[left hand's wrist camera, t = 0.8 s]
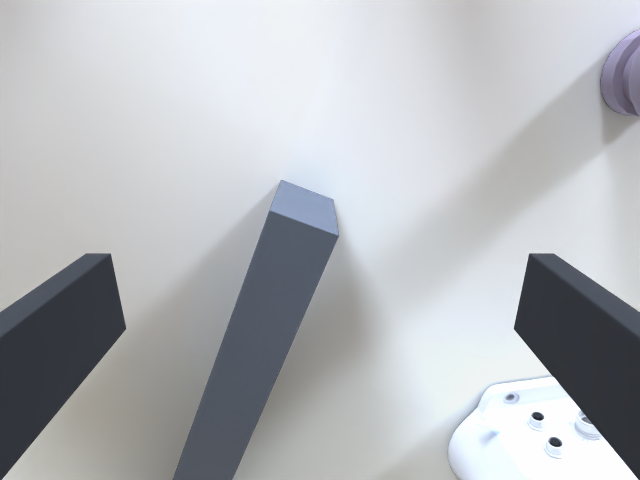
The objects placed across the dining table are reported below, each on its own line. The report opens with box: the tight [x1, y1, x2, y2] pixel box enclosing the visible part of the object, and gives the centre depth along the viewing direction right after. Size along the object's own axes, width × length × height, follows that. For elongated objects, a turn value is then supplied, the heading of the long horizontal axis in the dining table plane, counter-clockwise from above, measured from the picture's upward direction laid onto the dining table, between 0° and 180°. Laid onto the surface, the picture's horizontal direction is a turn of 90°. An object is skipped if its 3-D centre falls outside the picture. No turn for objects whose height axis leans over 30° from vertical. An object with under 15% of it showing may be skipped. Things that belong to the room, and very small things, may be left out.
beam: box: [173, 180, 339, 480], centre depth 38 cm, size 53×5×9 cm, turn 159°
